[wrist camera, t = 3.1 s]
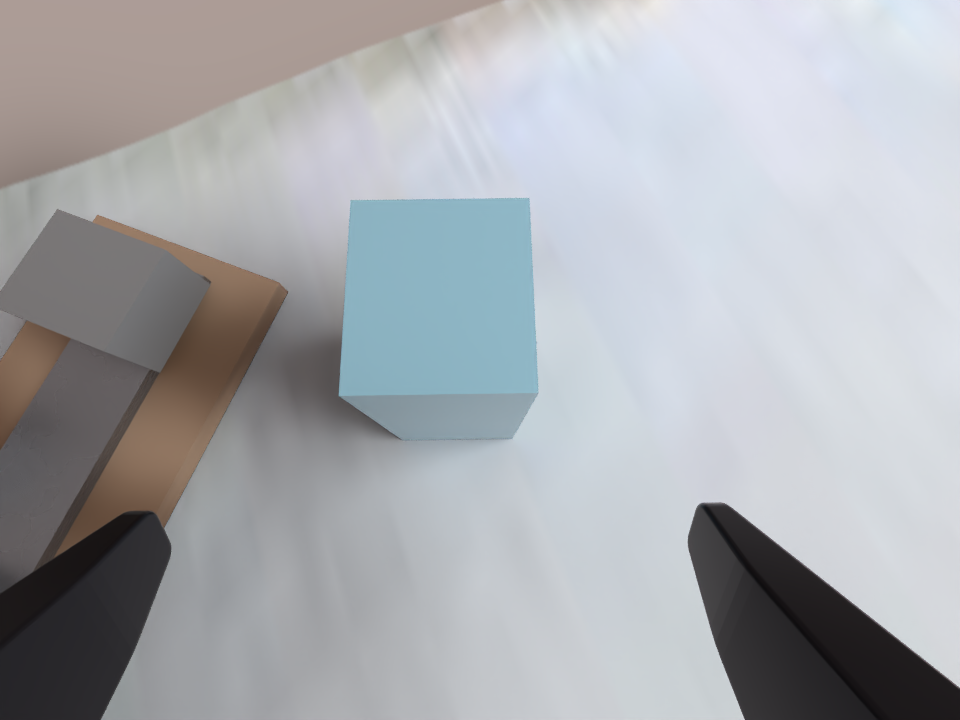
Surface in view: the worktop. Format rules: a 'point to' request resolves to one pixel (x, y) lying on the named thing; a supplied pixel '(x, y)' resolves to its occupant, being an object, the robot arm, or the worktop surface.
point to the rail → (63, 451)
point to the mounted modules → (105, 290)
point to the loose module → (440, 317)
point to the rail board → (158, 389)
